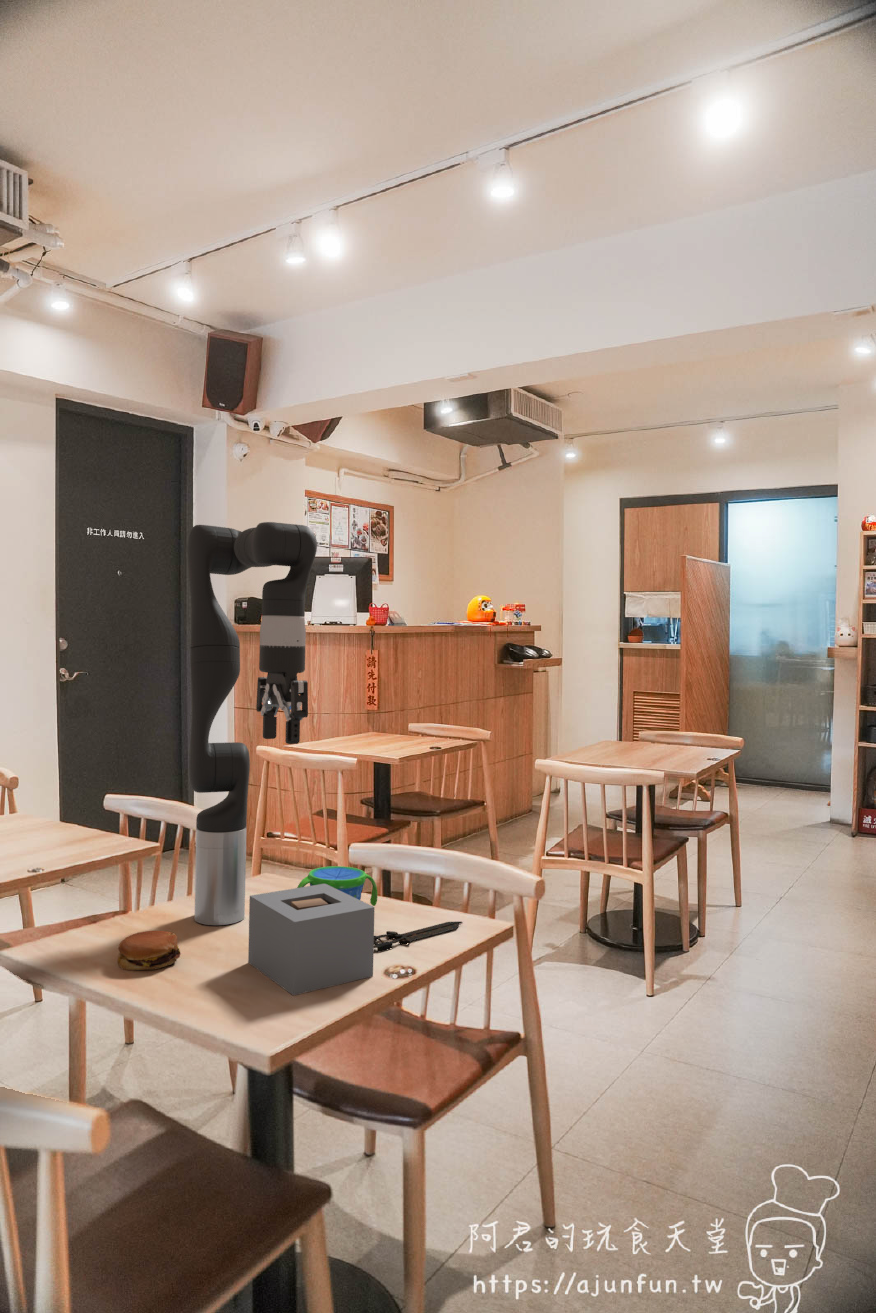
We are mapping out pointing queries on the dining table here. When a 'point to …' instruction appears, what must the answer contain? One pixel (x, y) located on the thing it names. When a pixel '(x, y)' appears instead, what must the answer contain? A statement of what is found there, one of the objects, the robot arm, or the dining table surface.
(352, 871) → the snack cup
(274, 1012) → the dining table surface
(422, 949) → the dining table surface
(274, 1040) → the dining table surface
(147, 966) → the burger
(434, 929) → the knife
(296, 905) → the brown rectangular block
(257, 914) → the tissue box
